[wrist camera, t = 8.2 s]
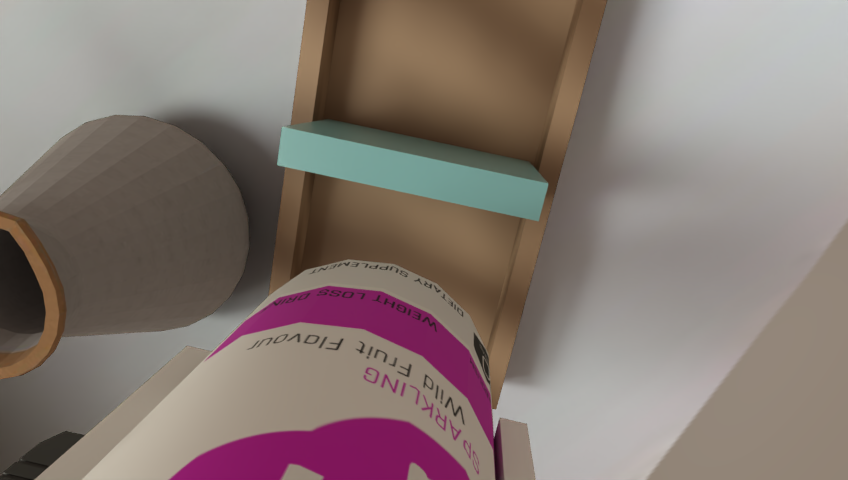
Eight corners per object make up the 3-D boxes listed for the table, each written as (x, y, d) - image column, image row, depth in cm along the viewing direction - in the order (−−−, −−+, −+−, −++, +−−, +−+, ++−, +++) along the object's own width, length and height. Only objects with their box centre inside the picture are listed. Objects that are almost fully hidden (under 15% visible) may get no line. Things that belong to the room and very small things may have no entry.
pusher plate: (521, 190, 28) (538, 221, 21) (323, 148, 28) (276, 165, 21) (529, 161, 27) (548, 183, 20) (328, 119, 28) (281, 126, 21)
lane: (493, 380, 32) (500, 472, 24) (279, 333, 32) (219, 407, 24) (612, -67, 25) (674, -137, 18) (342, -121, 26) (287, -213, 18)
